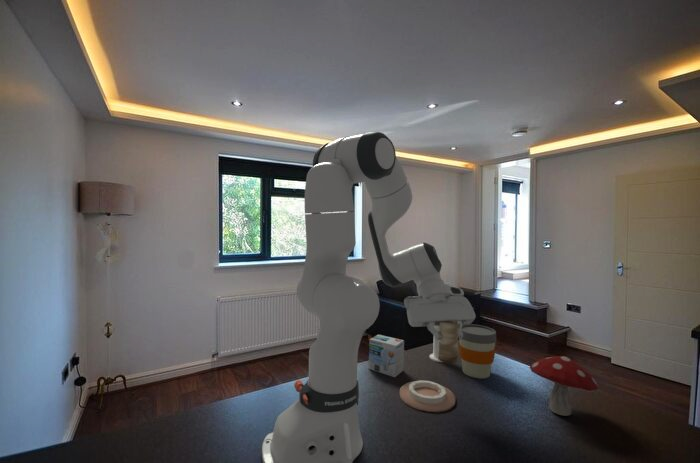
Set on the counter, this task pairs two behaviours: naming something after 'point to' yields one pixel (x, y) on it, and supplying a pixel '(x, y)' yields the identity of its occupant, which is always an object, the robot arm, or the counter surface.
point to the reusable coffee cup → (477, 350)
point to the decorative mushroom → (563, 380)
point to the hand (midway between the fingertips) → (449, 338)
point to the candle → (435, 348)
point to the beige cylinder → (448, 342)
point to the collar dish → (427, 396)
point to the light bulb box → (386, 355)
